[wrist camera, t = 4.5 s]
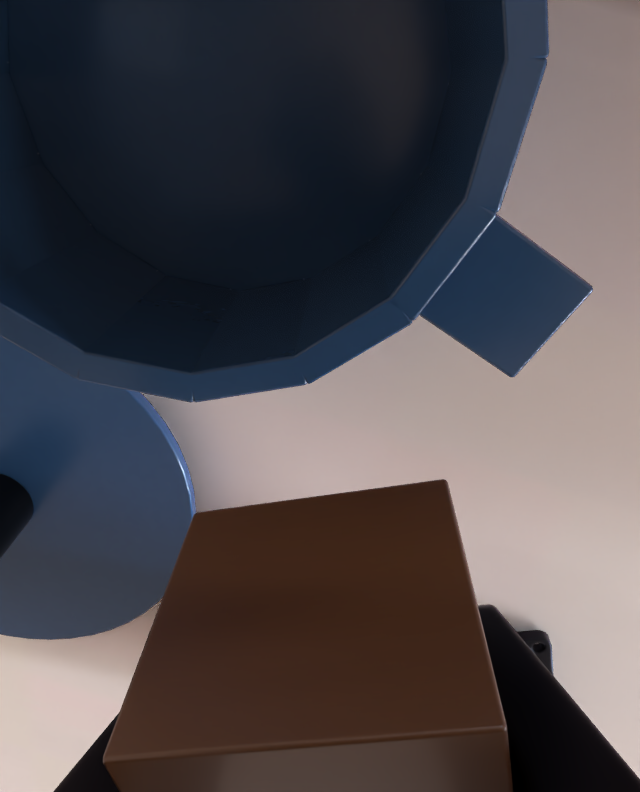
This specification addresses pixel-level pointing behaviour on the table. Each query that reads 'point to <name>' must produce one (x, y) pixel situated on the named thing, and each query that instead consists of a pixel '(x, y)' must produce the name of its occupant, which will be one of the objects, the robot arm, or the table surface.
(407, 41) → the pot
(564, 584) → the table surface
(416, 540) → the block
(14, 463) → the lid
